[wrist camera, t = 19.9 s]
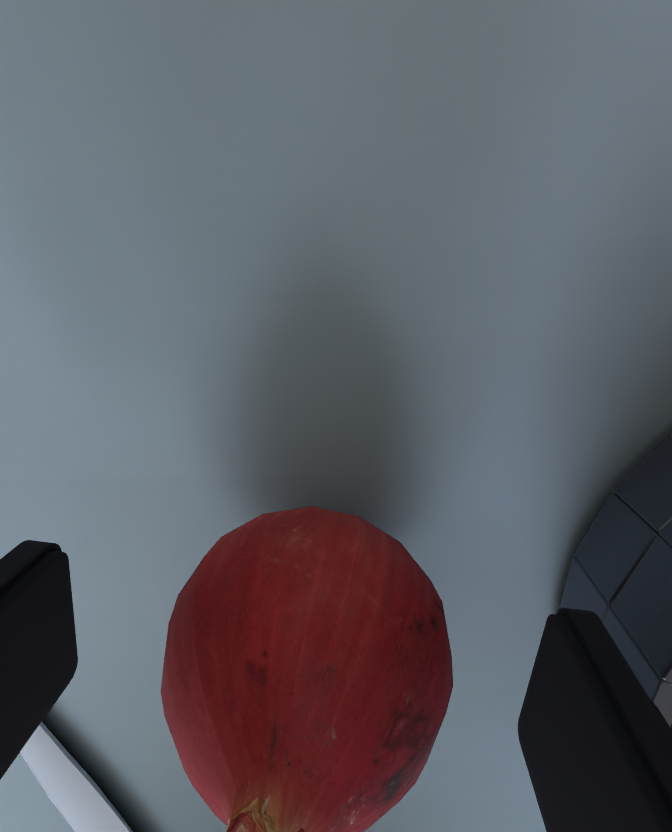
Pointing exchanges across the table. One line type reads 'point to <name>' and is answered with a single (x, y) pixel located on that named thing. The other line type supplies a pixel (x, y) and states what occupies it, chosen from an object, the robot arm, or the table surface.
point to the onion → (306, 673)
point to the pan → (633, 573)
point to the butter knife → (70, 785)
